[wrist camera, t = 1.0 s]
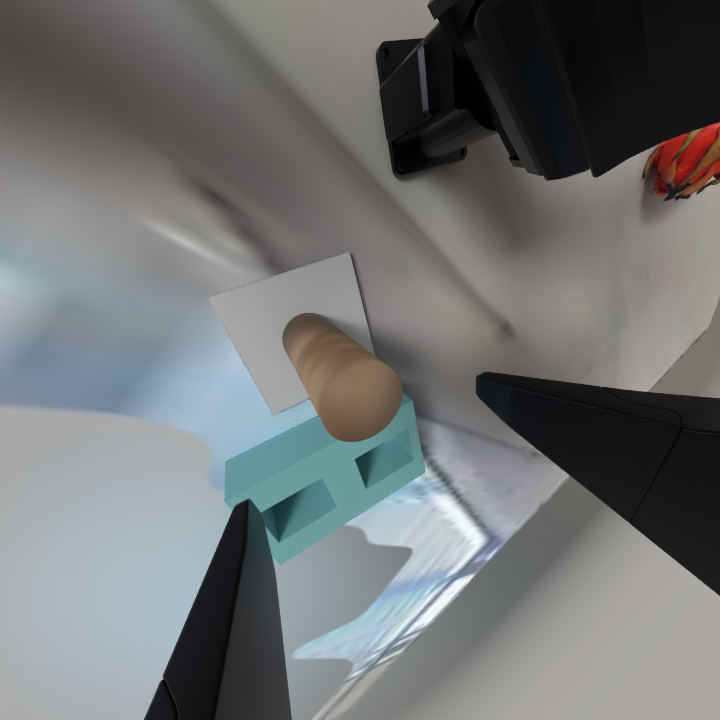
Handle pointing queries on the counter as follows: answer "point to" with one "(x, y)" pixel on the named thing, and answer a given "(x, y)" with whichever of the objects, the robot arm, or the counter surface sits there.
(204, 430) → the counter surface
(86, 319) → the counter surface
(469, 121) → the robot arm
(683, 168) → the dragon fruit
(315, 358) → the walnut peg
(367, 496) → the hole block
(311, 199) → the counter surface
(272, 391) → the rubber mat
